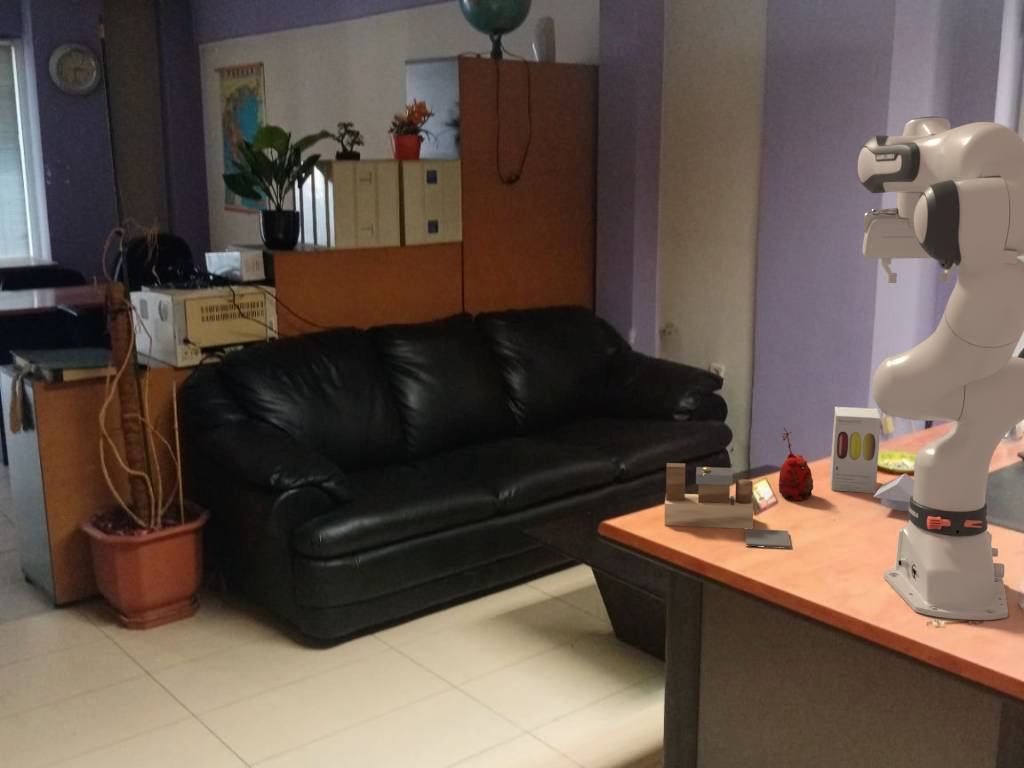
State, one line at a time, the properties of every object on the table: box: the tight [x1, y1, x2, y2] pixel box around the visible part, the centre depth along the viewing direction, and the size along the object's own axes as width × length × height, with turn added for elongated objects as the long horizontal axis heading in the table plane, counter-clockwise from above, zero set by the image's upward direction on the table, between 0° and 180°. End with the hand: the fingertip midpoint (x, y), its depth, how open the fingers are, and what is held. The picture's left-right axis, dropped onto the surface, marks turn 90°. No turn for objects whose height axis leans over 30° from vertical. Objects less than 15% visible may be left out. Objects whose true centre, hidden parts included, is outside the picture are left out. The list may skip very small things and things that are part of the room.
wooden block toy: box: [664, 462, 754, 529], centre depth 203 cm, size 6×17×12 cm, turn 79°
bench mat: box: [744, 528, 792, 549], centre depth 193 cm, size 8×8×1 cm
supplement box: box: [829, 406, 881, 494], centre depth 222 cm, size 10×9×17 cm
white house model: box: [873, 472, 914, 512], centre depth 209 cm, size 9×7×13 cm
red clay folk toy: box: [778, 427, 814, 502], centre depth 216 cm, size 8×7×15 cm
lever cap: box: [695, 466, 734, 486], centre depth 202 cm, size 5×7×3 cm
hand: (917, 282), depth 192 cm, fingers open, 8 cm apart
